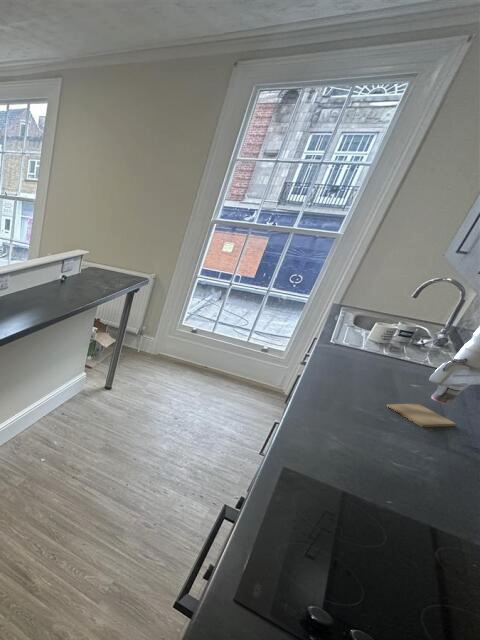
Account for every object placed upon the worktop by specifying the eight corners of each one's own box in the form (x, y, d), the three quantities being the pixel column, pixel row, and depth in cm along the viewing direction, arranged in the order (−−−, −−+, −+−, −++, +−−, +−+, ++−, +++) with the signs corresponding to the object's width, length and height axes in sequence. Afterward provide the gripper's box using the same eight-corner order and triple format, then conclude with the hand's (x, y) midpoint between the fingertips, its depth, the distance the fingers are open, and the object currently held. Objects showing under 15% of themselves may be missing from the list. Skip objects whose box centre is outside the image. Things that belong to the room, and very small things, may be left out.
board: (454, 425, 137) (456, 423, 137) (421, 427, 135) (423, 424, 134) (416, 405, 147) (418, 403, 147) (385, 406, 145) (387, 404, 144)
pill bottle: (428, 395, 141) (445, 375, 137) (446, 399, 139) (464, 379, 135) (433, 401, 138) (450, 380, 133) (451, 406, 136) (470, 385, 131)
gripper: (462, 363, 125) (432, 400, 133) (511, 363, 129) (479, 398, 136) (440, 354, 131) (411, 389, 138) (487, 354, 134) (457, 388, 141)
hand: (445, 394), depth 137 cm, fingers closed on pill bottle, 5 cm apart
